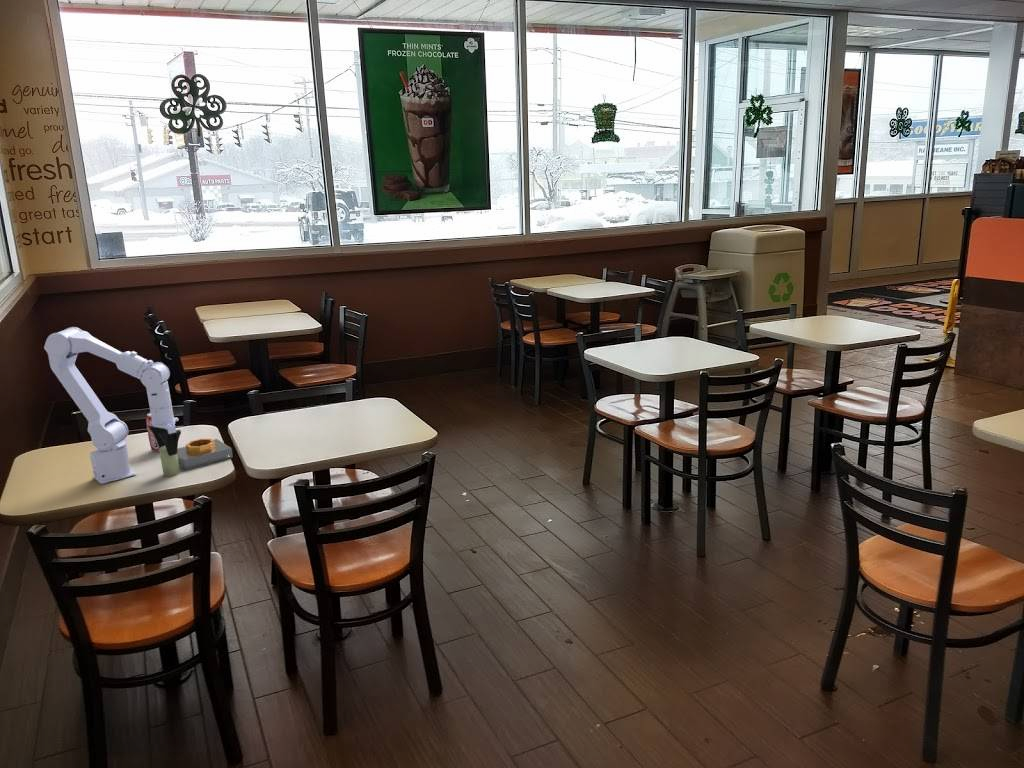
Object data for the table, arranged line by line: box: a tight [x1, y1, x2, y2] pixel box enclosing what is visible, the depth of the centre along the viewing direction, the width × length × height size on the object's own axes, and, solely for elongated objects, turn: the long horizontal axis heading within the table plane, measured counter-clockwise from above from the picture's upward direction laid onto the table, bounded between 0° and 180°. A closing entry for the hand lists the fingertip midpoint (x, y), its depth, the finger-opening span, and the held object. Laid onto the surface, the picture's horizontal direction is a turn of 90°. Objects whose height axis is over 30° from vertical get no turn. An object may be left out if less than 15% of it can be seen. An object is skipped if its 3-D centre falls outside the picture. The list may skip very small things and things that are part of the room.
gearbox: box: [177, 438, 234, 470], centre depth 237 cm, size 14×15×5 cm
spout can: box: [159, 446, 181, 477], centre depth 224 cm, size 4×4×9 cm
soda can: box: [145, 412, 160, 453], centre depth 245 cm, size 7×7×12 cm
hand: (168, 451), depth 224 cm, fingers open, 7 cm apart
